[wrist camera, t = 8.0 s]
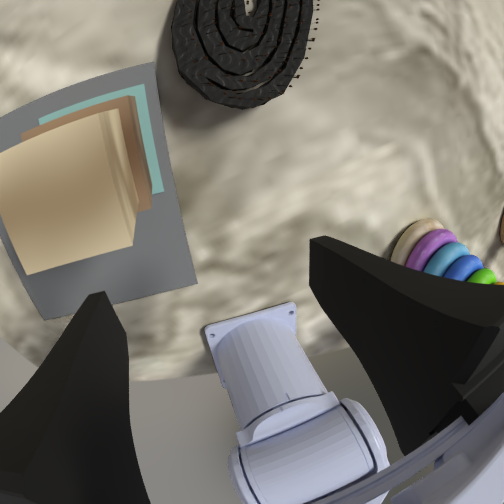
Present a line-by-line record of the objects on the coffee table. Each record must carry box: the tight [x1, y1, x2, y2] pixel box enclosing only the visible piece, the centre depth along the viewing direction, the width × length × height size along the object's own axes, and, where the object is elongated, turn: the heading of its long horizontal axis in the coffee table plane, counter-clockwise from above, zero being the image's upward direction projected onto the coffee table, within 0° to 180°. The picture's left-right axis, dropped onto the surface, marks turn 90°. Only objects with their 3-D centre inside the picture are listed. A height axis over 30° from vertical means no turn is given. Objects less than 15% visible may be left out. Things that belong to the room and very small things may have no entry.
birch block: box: [0, 109, 139, 275], centre depth 9 cm, size 4×4×4 cm
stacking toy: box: [391, 219, 504, 285], centre depth 20 cm, size 8×8×19 cm
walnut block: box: [21, 95, 152, 212], centre depth 13 cm, size 5×5×4 cm
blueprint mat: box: [0, 62, 198, 320], centre depth 16 cm, size 15×13×1 cm
